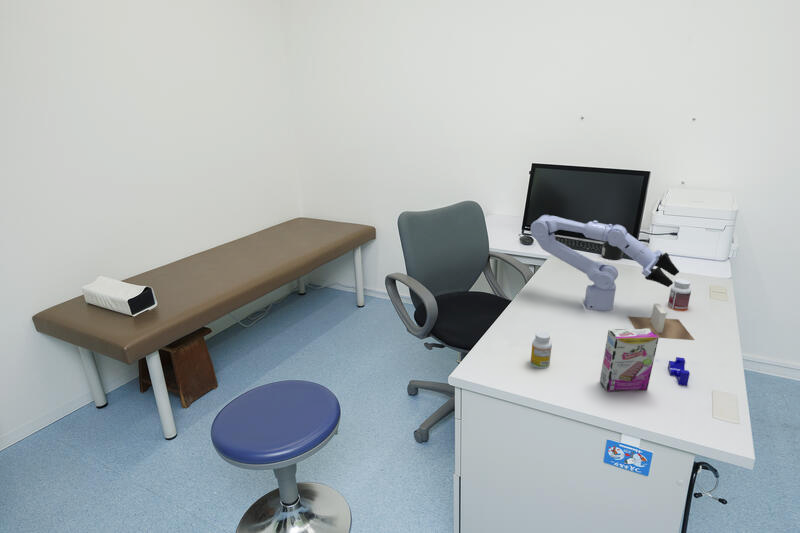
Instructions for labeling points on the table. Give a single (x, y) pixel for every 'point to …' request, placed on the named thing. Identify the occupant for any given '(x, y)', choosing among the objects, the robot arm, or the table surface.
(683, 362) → the cable holder
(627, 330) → the candy bar box
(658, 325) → the tile
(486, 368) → the table surface
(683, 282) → the pill bottle
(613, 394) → the table surface
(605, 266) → the robot arm
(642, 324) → the board
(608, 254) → the ink bottle
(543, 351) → the supplement bottle
